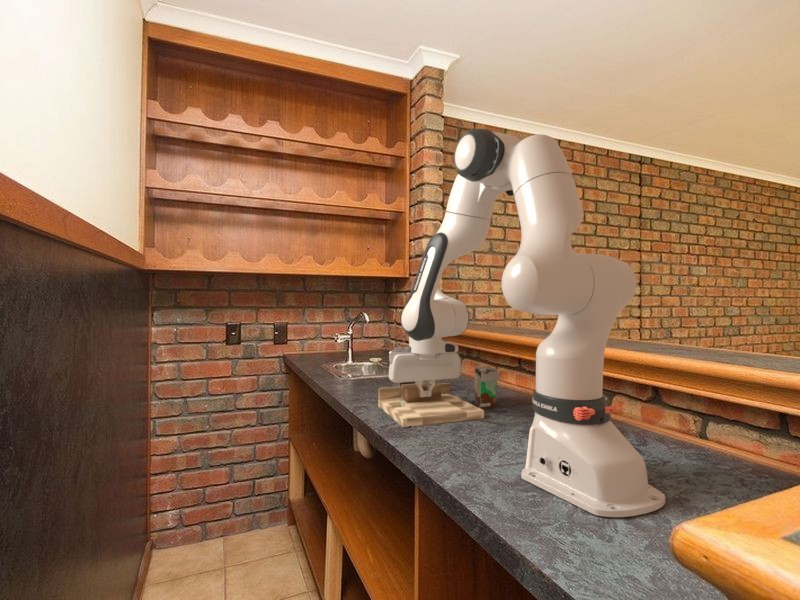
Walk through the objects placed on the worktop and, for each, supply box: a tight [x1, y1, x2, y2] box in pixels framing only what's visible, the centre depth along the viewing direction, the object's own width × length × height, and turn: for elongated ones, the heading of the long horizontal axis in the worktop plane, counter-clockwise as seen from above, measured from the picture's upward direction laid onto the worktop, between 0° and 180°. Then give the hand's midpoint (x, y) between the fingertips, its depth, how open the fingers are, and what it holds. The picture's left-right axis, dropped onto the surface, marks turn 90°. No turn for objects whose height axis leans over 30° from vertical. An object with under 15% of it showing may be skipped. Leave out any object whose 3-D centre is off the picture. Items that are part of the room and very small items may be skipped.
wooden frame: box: [377, 382, 485, 428], centre depth 113 cm, size 20×22×5 cm
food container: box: [473, 366, 500, 410], centre depth 120 cm, size 12×6×10 cm, turn 179°
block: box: [401, 382, 441, 403], centre depth 118 cm, size 5×10×4 cm, turn 110°
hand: (425, 396), depth 115 cm, fingers closed, pressing on block
